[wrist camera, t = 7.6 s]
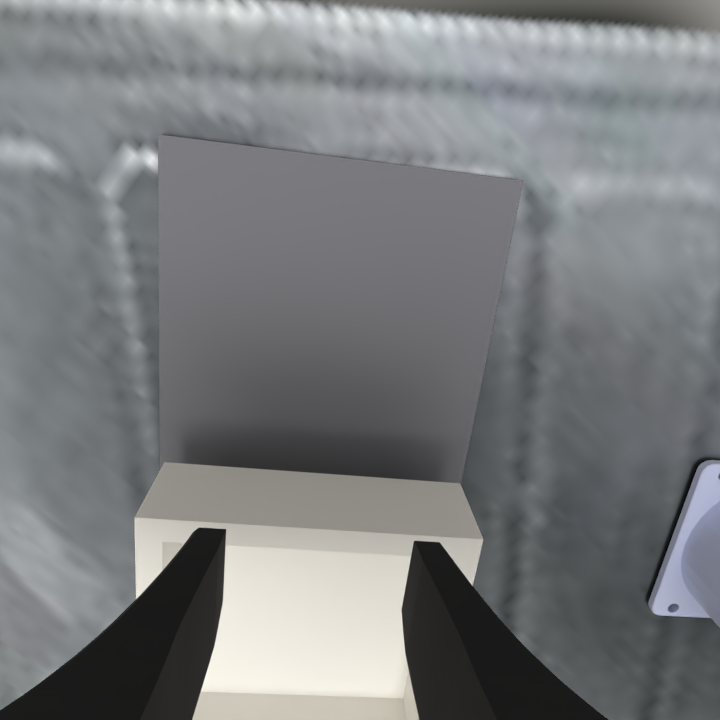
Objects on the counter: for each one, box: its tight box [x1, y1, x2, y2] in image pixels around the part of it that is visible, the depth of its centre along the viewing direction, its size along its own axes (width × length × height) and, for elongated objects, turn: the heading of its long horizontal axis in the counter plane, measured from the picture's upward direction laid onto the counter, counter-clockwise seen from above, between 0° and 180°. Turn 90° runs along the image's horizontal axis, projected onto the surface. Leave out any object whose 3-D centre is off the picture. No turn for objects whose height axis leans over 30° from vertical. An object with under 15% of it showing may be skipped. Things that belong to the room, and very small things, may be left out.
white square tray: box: [135, 462, 483, 720], centre depth 21 cm, size 11×11×5 cm
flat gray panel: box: [158, 135, 523, 484], centre depth 22 cm, size 12×23×1 cm, turn 173°
